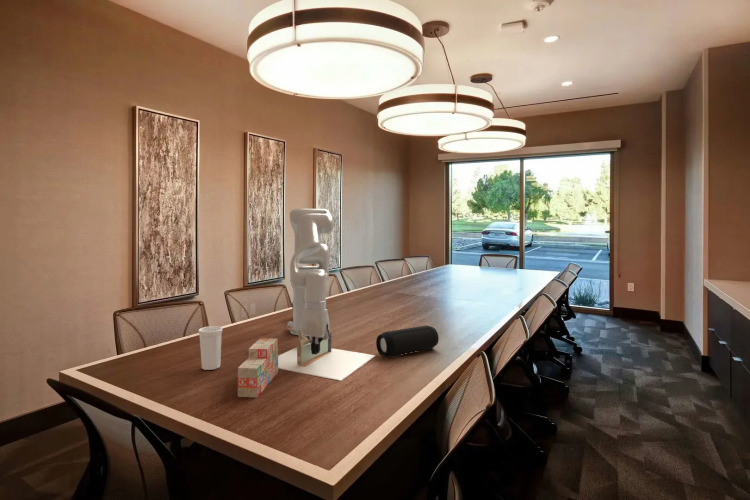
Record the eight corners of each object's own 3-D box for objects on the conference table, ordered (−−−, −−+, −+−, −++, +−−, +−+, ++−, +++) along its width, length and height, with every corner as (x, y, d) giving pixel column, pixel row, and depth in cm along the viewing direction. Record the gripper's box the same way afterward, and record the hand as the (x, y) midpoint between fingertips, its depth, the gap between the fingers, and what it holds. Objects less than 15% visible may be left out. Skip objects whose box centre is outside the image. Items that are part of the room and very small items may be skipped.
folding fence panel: (325, 350, 167) (325, 335, 166) (328, 351, 166) (328, 335, 165) (296, 363, 151) (296, 346, 151) (299, 364, 151) (299, 347, 150)
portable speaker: (425, 345, 179) (425, 322, 179) (439, 351, 171) (440, 327, 170) (374, 354, 166) (375, 330, 165) (388, 361, 158) (388, 336, 157)
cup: (208, 373, 143) (207, 333, 142) (194, 368, 147) (193, 329, 146) (227, 366, 150) (227, 328, 149) (213, 362, 154) (212, 324, 153)
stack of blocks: (257, 398, 124) (257, 358, 124) (237, 397, 125) (236, 357, 124) (278, 372, 146) (278, 338, 145) (261, 371, 146) (260, 337, 145)
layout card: (260, 365, 152) (260, 364, 152) (303, 344, 177) (303, 343, 177) (341, 381, 138) (341, 380, 138) (375, 356, 163) (375, 355, 163)
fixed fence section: (297, 347, 173) (297, 328, 172) (300, 345, 175) (300, 327, 174) (329, 352, 166) (329, 333, 166) (332, 351, 168) (332, 332, 168)
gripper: (293, 305, 153) (293, 353, 155) (327, 309, 147) (327, 359, 148) (304, 301, 160) (304, 347, 161) (338, 305, 154) (337, 353, 155)
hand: (315, 353), depth 155 cm, fingers closed
